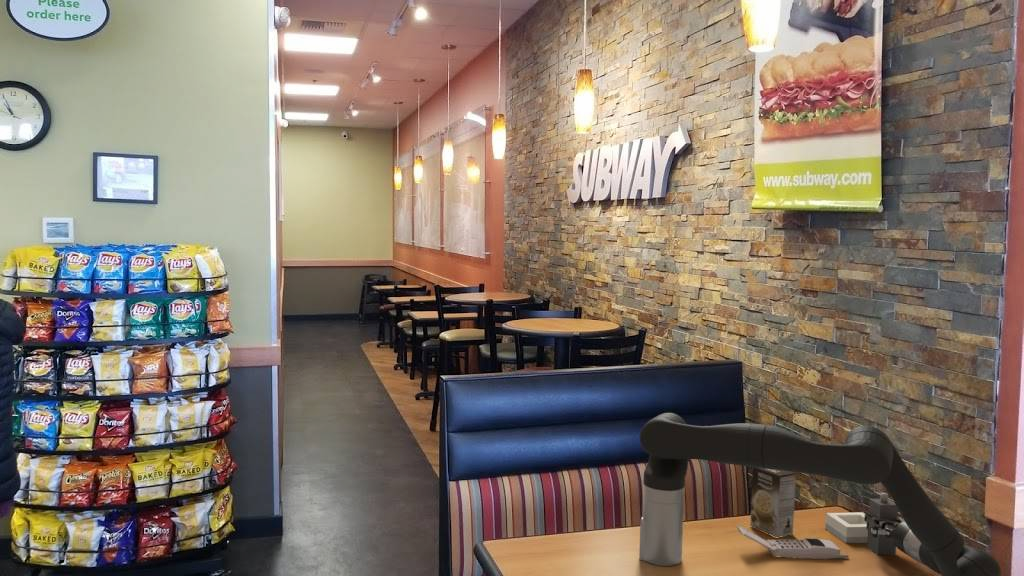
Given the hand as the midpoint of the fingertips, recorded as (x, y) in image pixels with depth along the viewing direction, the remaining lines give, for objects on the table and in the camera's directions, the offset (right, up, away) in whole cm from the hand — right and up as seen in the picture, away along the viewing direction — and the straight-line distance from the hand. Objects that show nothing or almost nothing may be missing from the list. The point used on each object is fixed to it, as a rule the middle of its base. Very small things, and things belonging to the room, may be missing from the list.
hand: (876, 516), depth 192 cm
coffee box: (-22, -7, +9) cm, 25 cm away
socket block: (-2, -7, +8) cm, 11 cm away
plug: (0, -8, -2) cm, 8 cm away
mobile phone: (-22, -8, -5) cm, 24 cm away
